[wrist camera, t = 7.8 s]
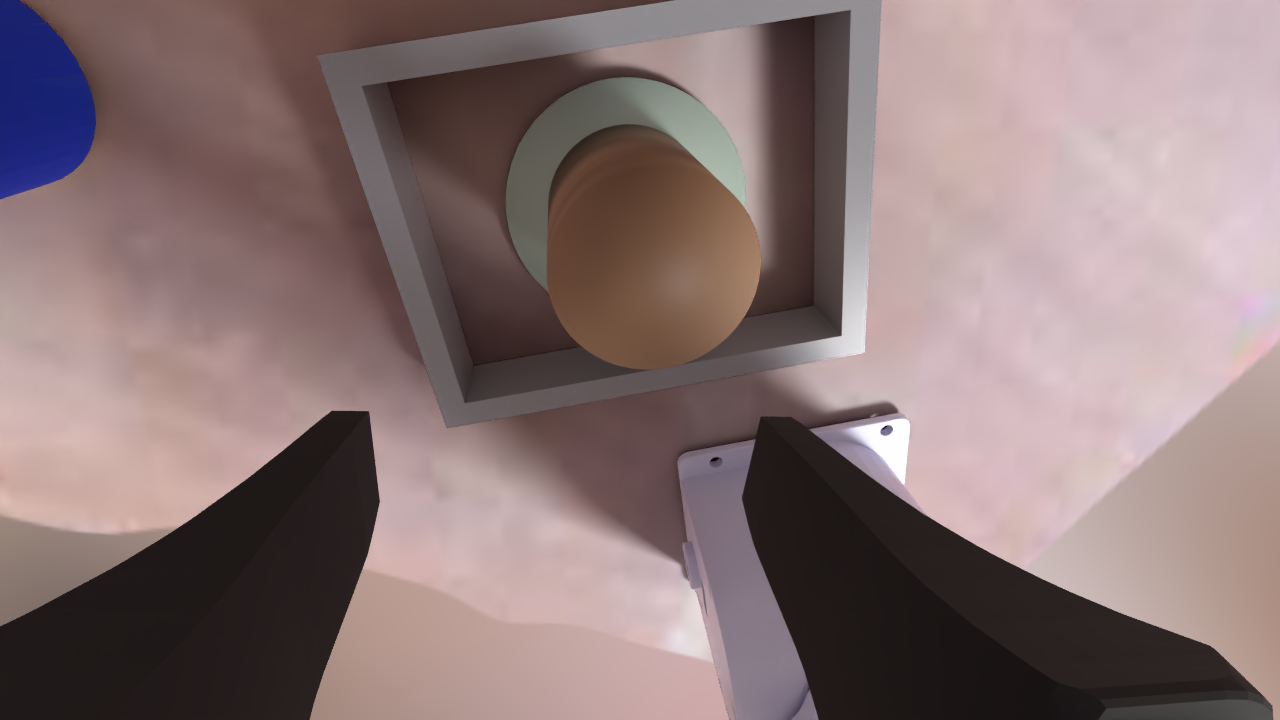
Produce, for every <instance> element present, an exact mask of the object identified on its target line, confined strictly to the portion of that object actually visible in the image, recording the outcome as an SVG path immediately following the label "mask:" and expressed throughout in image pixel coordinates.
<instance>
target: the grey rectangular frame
mask: <svg viewBox="0 0 1280 720" xmlns="http://www.w3.org/2000/svg"><path fill="white" fill-rule="evenodd" d="M881 1H882V0H674V1H667V2H660V3H654V4H647V5H641V6H634V7H628V8H621V9H615V10H608V11H602V12H595V13H589V14H582V15H576V16H569V17H563V18H556V19H550V20H543V21H537V22H530V23H524V24H517V25H511V26H504V27H497V28H491V29H484V30H478V31H471V32H465V33H458V34H452V35H445V36H439V37H432V38H426V39H419V40H413V41H406V42H400V43H393V44H387V45H380V46H374V47H367V48H361V49H354V50H348V51H341V52H334V53H328V54H321V55H317V58H318V61H319V64H320V67H321V70H322V73H323V75H324V78H325V81H326V84H327V87H328V90H329V93H330V95H331V98H332V101H333V104H334V107H335V110H336V113H337V115H338V118H339V121H340V124H341V127H342V130H343V133H344V135H345V138H346V141H347V144H348V147H349V150H350V153H351V156H352V158H353V161H354V164H355V167H356V170H357V173H358V176H359V178H360V181H361V184H362V187H363V190H364V193H365V196H366V198H367V201H368V204H369V207H370V210H371V213H372V216H373V218H374V221H375V224H376V227H377V230H378V233H379V236H380V239H381V241H382V244H383V247H384V250H385V253H386V256H387V259H388V261H389V264H390V267H391V270H392V273H393V276H394V279H395V281H396V284H397V287H398V290H399V293H400V296H401V299H402V301H403V304H404V307H405V310H406V313H407V316H408V319H409V322H410V324H411V327H412V330H413V333H414V336H415V339H416V342H417V344H418V347H419V350H420V353H421V356H422V359H423V362H424V364H425V367H426V370H427V373H428V376H429V379H430V382H431V384H432V387H433V390H434V393H435V396H436V399H437V402H438V405H439V407H440V410H441V413H442V416H443V419H444V422H445V425H446V427H447V428H451V427H457V426H462V425H468V424H473V423H479V422H484V421H490V420H496V419H501V418H507V417H512V416H518V415H523V414H529V413H534V412H540V411H545V410H551V409H557V408H562V407H568V406H573V405H579V404H584V403H590V402H595V401H601V400H606V399H612V398H617V397H623V396H629V395H634V394H640V393H645V392H651V391H656V390H662V389H667V388H673V387H678V386H684V385H689V384H695V383H701V382H706V381H712V380H717V379H723V378H728V377H734V376H739V375H745V374H750V373H756V372H761V371H767V370H773V369H778V368H784V367H789V366H795V365H800V364H806V363H811V362H817V361H822V360H828V359H833V358H839V357H845V356H850V355H856V354H861V353H864V350H865V330H866V309H867V289H868V268H869V248H870V227H871V207H872V186H873V166H874V145H875V124H876V104H877V83H878V63H879V42H880V22H881ZM814 15H815V113H814V306H809V307H803V308H798V309H792V310H786V311H781V312H775V313H769V314H764V315H758V316H752V317H747V318H743V319H742V321H741V322H740V324H739V325H738V326H737V328H736V329H735V330H734V331H733V332H732V333H731V334H730V335H729V336H728V337H727V338H726V339H725V340H724V341H723V342H722V343H720V344H719V345H718V346H717V347H715V348H714V349H712V350H711V351H709V352H708V353H706V354H704V355H702V356H701V357H699V358H697V359H695V360H692V361H690V362H687V363H684V364H681V365H677V366H674V367H670V368H663V369H649V370H643V369H632V368H627V367H622V366H618V365H615V364H612V363H609V362H606V361H604V360H602V359H600V358H598V357H596V356H594V355H593V354H591V353H590V352H588V351H587V350H585V349H584V348H583V347H577V348H571V349H565V350H560V351H554V352H548V353H543V354H537V355H531V356H526V357H520V358H514V359H509V360H503V361H497V362H492V363H486V364H480V365H475V366H473V363H472V360H471V356H470V353H469V350H468V347H467V343H466V340H465V337H464V333H463V330H462V327H461V324H460V320H459V317H458V314H457V311H456V307H455V304H454V301H453V297H452V294H451V291H450V288H449V284H448V281H447V278H446V275H445V271H444V268H443V265H442V261H441V258H440V255H439V252H438V248H437V245H436V242H435V239H434V235H433V232H432V229H431V225H430V222H429V219H428V216H427V212H426V209H425V206H424V203H423V199H422V196H421V193H420V189H419V186H418V183H417V180H416V176H415V173H414V170H413V167H412V163H411V160H410V157H409V153H408V150H407V147H406V144H405V140H404V137H403V134H402V131H401V127H400V124H399V121H398V117H397V114H396V111H395V108H394V104H393V101H392V98H391V95H390V91H389V88H388V85H387V82H391V81H398V80H404V79H410V78H417V77H423V76H430V75H436V74H442V73H449V72H455V71H462V70H468V69H474V68H481V67H487V66H494V65H500V64H507V63H513V62H519V61H526V60H532V59H539V58H545V57H551V56H558V55H564V54H571V53H577V52H583V51H590V50H596V49H603V48H609V47H616V46H622V45H628V44H635V43H641V42H648V41H654V40H660V39H667V38H673V37H680V36H686V35H692V34H699V33H705V32H712V31H718V30H725V29H731V28H737V27H744V26H750V25H757V24H763V23H769V22H776V21H782V20H789V19H795V18H802V17H808V16H814Z"/></svg>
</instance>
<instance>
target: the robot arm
mask: <svg viewBox="0 0 1280 720" xmlns="http://www.w3.org/2000/svg"><path fill="white" fill-rule="evenodd" d="M886 425H888V427H887V428H886V429H884V430H881V429H882V428H883V427H884V426H886ZM909 432H910V422H909V420H908V419H907V418H906V417H905V416H904V415H903V414H901V413H894V414H889V415H884V416H878V417H873V418H867V419H862V420H857V421H851V422H846V423H840V424H835V425H830V426H824V427H819V428H813V429H807V428H806V427H805V426H803V425H802V424H801V423H799V422H798V421H796V420H795V419H793V418H792V417H761V419H760V423H759V427H758V431H757V435H756V439H754V440H749V441H743V442H738V443H732V444H727V445H722V446H716V447H711V448H705V449H700V450H695V451H689V452H686V453H683V454H682V455H681V456H680V457H679V459H678V462H677V465H678V473H679V480H680V488H681V495H682V503H683V511H684V518H685V526H686V533H687V541H688V542H684V543H683V544H682V547H683V554H684V560H685V565H686V570H687V575H688V580H689V583H690V587H691V589H695V592H696V593H697V597H698V601H699V604H700V608H701V612H702V616H703V620H704V624H705V628H706V632H707V636H708V640H709V644H710V648H711V652H712V656H713V660H714V664H715V668H716V671H717V676H718V680H719V684H720V688H721V692H722V695H723V699H724V703H725V707H726V710H727V714H728V717H729V720H1273V709H1272V705H1271V704H1270V703H1269V702H1268V701H1267V700H1266V698H1265V697H1264V696H1263V695H1262V694H1261V693H1260V692H1259V691H1258V690H1257V689H1256V688H1255V687H1253V686H1252V685H1251V684H1250V683H1249V682H1248V681H1247V680H1246V679H1245V678H1244V677H1243V676H1242V675H1241V674H1240V673H1239V672H1238V671H1237V670H1236V669H1235V668H1234V667H1233V666H1232V665H1230V663H1229V662H1228V661H1227V660H1226V659H1224V657H1222V656H1221V655H1220V654H1219V653H1218V652H1217V651H1216V650H1215V649H1214V648H1212V647H1211V646H1209V645H1206V644H1203V643H1201V642H1198V641H1195V640H1192V639H1190V638H1187V637H1184V636H1181V635H1178V634H1176V633H1173V632H1170V631H1168V630H1165V629H1162V628H1159V627H1157V626H1153V625H1151V624H1148V623H1145V622H1143V621H1140V620H1137V619H1135V618H1132V617H1129V616H1127V615H1124V614H1121V613H1119V612H1116V611H1114V610H1112V609H1109V608H1107V607H1104V606H1102V605H1100V604H1097V603H1095V602H1092V601H1090V600H1088V599H1085V598H1083V597H1081V596H1078V595H1076V594H1074V593H1071V592H1069V591H1067V590H1065V589H1062V588H1060V587H1058V586H1056V585H1054V584H1051V583H1049V582H1047V581H1045V580H1043V579H1041V578H1039V577H1037V576H1035V575H1033V574H1031V573H1028V572H1027V571H1025V570H1023V569H1021V568H1019V567H1017V566H1015V565H1013V564H1011V563H1009V562H1007V561H1005V560H1003V559H1001V558H999V557H997V556H995V555H993V554H991V553H989V552H987V551H986V550H984V549H982V548H980V547H978V546H976V545H975V544H973V543H971V542H970V541H968V540H966V539H964V538H963V537H961V536H959V535H958V534H956V533H954V532H952V531H951V530H949V529H947V528H946V527H944V526H942V525H941V524H939V523H937V522H936V521H934V520H933V519H931V518H929V517H928V516H926V514H925V513H924V512H923V510H922V509H921V508H920V506H919V505H918V504H917V502H916V501H915V500H914V498H913V497H912V496H911V494H910V493H909V492H908V490H907V489H906V488H905V486H904V484H905V474H906V464H907V453H908V443H909ZM714 457H720V458H719V459H718V460H717V461H714V462H713V461H710V460H711V459H712V458H714ZM379 503H380V500H379V491H378V483H377V475H376V466H375V458H374V449H373V441H372V433H371V424H370V416H369V411H331V412H330V413H329V414H327V415H326V416H325V417H323V418H322V419H321V420H320V421H318V422H317V423H316V424H315V425H314V426H312V427H311V428H310V429H309V430H307V431H306V432H305V433H304V434H303V435H301V436H300V437H299V438H298V439H297V440H295V441H294V442H293V443H292V444H290V445H289V446H288V447H287V448H286V449H284V450H283V451H282V452H281V453H279V454H278V455H277V456H276V457H274V458H273V459H272V460H271V461H269V462H268V463H267V464H266V465H264V466H263V467H262V468H260V469H259V470H258V471H257V472H255V473H254V474H253V475H252V476H250V477H249V478H248V479H246V480H245V481H244V482H242V483H241V484H240V485H238V486H237V487H235V488H234V489H233V490H231V491H230V492H229V493H227V494H226V495H224V496H223V497H222V498H220V499H219V500H217V501H216V502H215V503H213V504H212V505H210V506H209V507H208V508H206V509H205V510H204V511H202V512H201V513H199V514H198V515H197V516H195V517H194V518H192V519H191V520H189V521H188V522H186V523H185V524H183V525H182V526H180V527H179V528H177V529H176V530H174V531H173V532H171V533H170V534H168V535H166V536H165V537H163V538H162V539H160V540H159V541H157V542H155V543H154V544H152V545H150V546H149V547H147V548H145V549H144V550H142V551H140V552H139V553H137V554H136V555H134V556H132V557H131V558H129V559H127V560H126V561H124V562H122V563H120V564H119V565H117V566H115V567H113V568H112V569H110V570H108V571H106V572H105V573H103V574H101V575H99V576H97V577H95V578H93V579H91V580H89V581H88V582H86V583H84V584H82V585H80V586H78V587H77V588H75V589H73V590H71V591H69V592H67V593H65V594H63V595H61V596H59V597H58V598H56V599H54V600H52V601H50V602H49V603H46V604H44V605H43V606H41V607H39V608H37V609H35V610H33V611H31V612H29V613H27V614H25V615H23V616H21V617H19V618H17V619H15V620H13V621H11V622H9V623H7V624H4V625H2V626H0V720H309V719H310V716H311V712H312V708H313V704H314V701H315V698H316V694H317V691H318V688H319V685H320V682H321V679H322V676H323V673H324V670H325V668H326V665H327V662H328V660H329V657H330V654H331V652H332V649H333V646H334V644H335V641H336V638H337V635H338V633H339V630H340V627H341V625H342V622H343V619H344V617H345V614H346V612H347V609H348V606H349V604H350V601H351V598H352V595H353V593H354V590H355V587H356V584H357V582H358V579H359V576H360V574H361V571H362V568H363V566H364V563H365V560H366V557H367V554H368V551H369V547H370V543H371V539H372V534H373V530H374V526H375V521H376V516H377V512H378V507H379Z"/></svg>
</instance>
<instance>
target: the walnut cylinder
mask: <svg viewBox="0 0 1280 720" xmlns="http://www.w3.org/2000/svg"><path fill="white" fill-rule="evenodd" d="M760 269H761V253H760V246H759V240H758V237H757V233H756V229H755V227H754V225H753V222H752V220H751V218H750V216H749V214H748V213H747V211H746V210H745V208H744V206H743V205H742V204H741V202H740V201H739V200H738V199H737V198H736V197H735V195H734V194H733V193H732V192H731V191H730V190H729V189H727V188H726V187H725V186H724V185H723V184H722V183H721V182H720V181H719V180H718V179H717V178H716V177H715V176H714V175H713V174H712V173H711V172H710V171H709V170H708V169H706V168H705V167H704V166H703V165H702V164H701V163H700V162H699V161H698V160H697V159H696V158H695V157H694V156H693V155H692V154H691V153H690V152H689V151H688V150H687V149H686V148H684V147H683V146H682V145H681V144H680V143H679V142H678V141H677V140H675V139H674V138H672V137H671V136H669V135H668V134H666V133H664V132H662V131H660V130H657V129H654V128H651V127H648V126H643V125H636V124H623V125H614V126H610V127H607V128H603V129H601V130H598V131H596V132H593V133H592V134H590V135H588V136H587V137H585V138H583V139H582V140H581V141H579V142H578V143H577V144H576V145H575V146H574V147H573V148H572V149H571V150H570V151H569V152H568V153H567V154H566V155H565V157H564V158H563V160H562V161H561V162H560V164H559V166H558V168H557V170H556V172H555V174H554V177H553V180H552V183H551V187H550V191H549V200H548V232H547V286H548V291H549V297H550V300H551V303H552V306H553V309H554V311H555V313H556V315H557V317H558V319H559V321H560V322H561V324H562V325H563V327H564V328H565V330H566V331H567V332H568V334H569V335H570V336H571V337H572V338H573V339H574V340H575V341H576V342H577V343H578V344H579V345H580V346H582V347H583V348H584V349H585V350H587V351H588V352H590V353H591V354H593V355H594V356H596V357H598V358H600V359H602V360H604V361H606V362H609V363H612V364H615V365H618V366H622V367H627V368H632V369H643V370H649V369H663V368H670V367H674V366H677V365H681V364H684V363H687V362H690V361H692V360H695V359H697V358H699V357H701V356H702V355H704V354H706V353H708V352H709V351H711V350H712V349H714V348H715V347H717V346H718V345H719V344H720V343H722V342H723V341H724V340H725V339H726V338H727V337H728V336H729V335H730V334H731V333H732V332H733V331H734V330H735V329H736V328H737V326H738V325H739V324H740V322H741V321H742V319H743V318H744V317H745V315H746V313H747V311H748V309H749V308H750V306H751V303H752V301H753V299H754V296H755V294H756V290H757V286H758V283H759V277H760Z"/></svg>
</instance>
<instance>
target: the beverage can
mask: <svg viewBox="0 0 1280 720" xmlns="http://www.w3.org/2000/svg"><path fill="white" fill-rule="evenodd" d="M95 125H96V120H95V107H94V103H93V98H92V94H91V90H90V88H89V85H88V83H87V80H86V77H85V75H84V73H83V71H82V69H81V67H80V66H79V64H78V62H77V60H76V58H75V57H74V55H73V54H72V53H71V51H70V50H69V48H68V47H67V46H66V44H65V43H64V41H63V40H62V39H61V38H60V37H59V36H58V34H57V33H56V32H55V31H54V30H53V29H52V28H51V27H50V26H49V24H48V23H46V22H45V21H44V20H43V19H42V18H41V17H40V16H39V15H38V14H36V13H35V12H34V11H33V10H32V9H31V8H29V7H28V6H27V5H25V4H24V3H23V2H21V1H20V0H0V199H2V198H6V197H9V196H12V195H15V194H18V193H21V192H24V191H27V190H30V189H33V188H36V187H40V186H43V185H46V184H49V183H51V182H54V181H57V180H59V179H62V178H63V177H65V176H67V175H68V174H70V173H71V172H73V171H74V170H75V169H76V168H77V167H78V166H79V165H80V164H81V163H82V162H83V160H84V159H85V157H86V156H87V154H88V152H89V151H90V148H91V145H92V142H93V139H94V134H95Z"/></svg>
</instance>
